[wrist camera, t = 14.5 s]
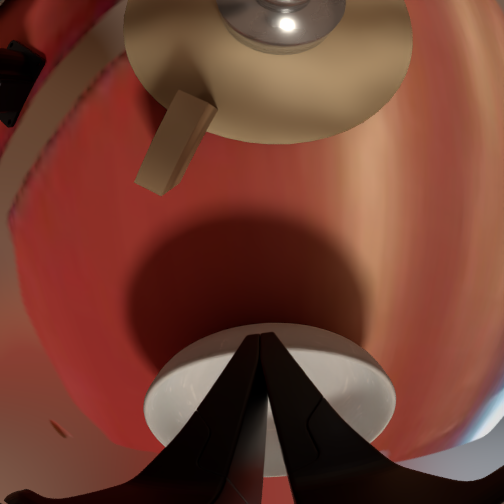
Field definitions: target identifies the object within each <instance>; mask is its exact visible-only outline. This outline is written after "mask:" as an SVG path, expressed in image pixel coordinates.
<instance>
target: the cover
mask: <svg viewBox="0 0 504 504" xmlns="http://www.w3.org/2000/svg"><path fill="white" fill-rule="evenodd" d="M216 2H217V6H218V9H219V12H220V16H221V19H222V22H223V24H224V26H225V28H226V29H227V31H228V32H229V33H230V34H231V35H232V36H233V37H234V38H235V39H236V40H237V41H239V42H240V43H242V44H243V45H245V46H247V47H249V48H251V49H253V50H256V51H259V52H263V53H267V54H274V55H292V54H297V53H302V52H305V51H308V50H310V49H312V48H314V47H316V46H317V45H319V44H320V43H321V42H323V41H324V40H325V39H326V37H327V36H328V35H329V34H330V33H331V32H332V30H333V29H334V28H335V27H336V26H337V25H338V23H339V22H340V20H341V19H342V17H343V15H344V12H345V8H346V0H216Z"/></svg>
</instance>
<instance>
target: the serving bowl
mask: <svg viewBox="0 0 504 504" xmlns="http://www.w3.org/2000/svg"><path fill="white" fill-rule="evenodd" d="M265 332H274V333H275V334H276V335H277V337H278V338H279V339H280V341H281V342H282V343H283V345H284V346H285V347H286V349H287V350H288V351H289V353H290V354H291V355H292V356H293V358H294V359H295V360H296V362H297V363H298V364H299V366H300V367H301V368H302V369H303V371H304V372H305V373H306V375H307V376H308V377H309V378H310V380H311V381H312V382H313V384H314V385H315V386H316V387H317V389H318V390H319V391H320V392H321V394H322V395H323V397H324V398H325V399H326V400H327V401H328V402H329V404H330V405H331V406H332V407H333V408H334V410H335V411H336V412H337V413H338V414H339V415H340V416H341V418H342V419H343V420H344V421H346V422H347V423H348V424H349V425H350V426H351V427H352V428H353V429H354V430H355V431H356V432H357V433H358V434H360V435H361V436H362V437H363V438H364V439H365V440H366V441H368V442H369V443H371V442H372V441H373V440H374V439H375V438H376V437H377V436H378V435H379V434H380V433H381V432H382V431H383V430H384V428H385V427H386V426H387V424H388V422H389V421H390V419H391V417H392V415H393V413H394V409H395V405H396V394H395V389H394V386H393V384H392V382H391V380H390V378H389V377H388V375H387V374H386V373H385V371H384V370H383V368H382V367H381V366H380V365H379V363H378V362H377V361H376V360H375V359H374V358H373V357H372V356H371V355H370V354H369V353H368V352H367V351H365V350H364V349H363V348H362V347H360V346H359V345H357V344H356V343H354V342H353V341H351V340H349V339H347V338H345V337H343V336H341V335H339V334H336V333H333V332H331V331H328V330H325V329H321V328H317V327H313V326H307V325H301V324H292V323H260V324H251V325H244V326H239V327H234V328H230V329H226V330H223V331H220V332H217V333H214V334H211V335H209V336H206V337H204V338H202V339H200V340H198V341H196V342H194V343H192V344H190V345H189V346H187V347H186V348H184V349H183V350H181V351H180V352H178V353H177V354H176V355H175V356H174V357H173V358H172V359H170V360H169V361H168V362H167V363H166V364H165V366H164V367H163V368H162V369H161V370H160V372H159V373H158V375H157V376H156V378H155V379H154V381H153V382H152V384H151V386H150V387H149V389H148V391H147V393H146V396H145V400H144V415H145V419H146V422H147V424H148V426H149V428H150V430H151V431H152V433H153V434H154V435H155V437H156V438H157V439H158V440H159V441H160V442H161V443H162V444H163V445H164V446H165V447H166V446H167V445H168V444H169V443H170V442H171V441H172V440H173V439H174V437H175V436H176V435H177V434H178V433H179V432H180V430H181V429H182V428H183V427H184V425H185V424H186V423H187V421H188V420H189V419H190V417H191V416H192V414H193V413H194V412H195V411H197V408H198V406H199V405H200V403H201V402H202V400H203V399H204V398H205V396H206V395H207V393H208V392H209V390H210V389H211V387H212V386H213V384H214V383H215V382H216V380H217V379H218V377H219V376H220V374H221V373H222V371H223V370H224V368H225V367H226V365H227V364H228V362H229V361H230V359H231V358H232V356H233V355H234V353H235V352H236V350H237V349H238V347H239V346H240V344H241V343H242V341H243V340H244V338H245V337H246V336H247V335H250V334H260V335H261V333H265ZM276 476H277V477H278V476H287V473H286V469H285V465H284V461H283V457H282V453H281V449H280V445H279V441H278V437H277V432H276V428H275V424H274V420H273V416H272V412H271V407H270V403H269V399H268V414H267V430H266V446H265V461H264V475H263V477H276Z"/></svg>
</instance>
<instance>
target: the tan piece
mask: <svg viewBox="0 0 504 504" xmlns="http://www.w3.org/2000/svg"><path fill="white" fill-rule="evenodd" d="M123 33H124V43H125V48H126V52H127V56H128V59H129V62H130V64H131V66H132V68H133V70H134V72H135V74H136V76H137V77H138V79H139V80H140V82H141V83H142V85H143V86H144V88H145V89H146V90H147V91H148V92H149V93H150V94H151V95H152V96H153V98H154V99H155V100H156V101H157V102H159V103H160V104H161V105H162V106H164V107H165V108H166V109H167V112H166V114H165V116H164V118H163V120H162V122H161V124H160V126H159V128H158V130H157V132H156V134H155V136H154V138H153V140H152V143H151V145H150V147H149V149H148V151H147V154H146V156H145V158H144V160H143V163H142V165H141V167H140V170H139V172H138V174H137V177H136V179H135V182H134V183H136V184H138V185H140V186H142V187H144V188H146V189H148V190H150V191H152V192H154V193H156V194H158V195H160V196H162V195H164V194H165V193H166V192H168V191H169V190H171V189H172V188H173V187H175V186H176V185H177V184H179V183H180V181H181V179H182V177H183V175H184V173H185V171H186V169H187V167H188V165H189V163H190V161H191V159H192V157H193V155H194V153H195V151H196V149H197V147H198V146H199V144H200V142H201V140H202V138H203V136H204V134H205V132H206V131H207V132H210V133H213V134H216V135H219V136H222V137H225V138H230V139H235V140H240V141H244V142H252V143H262V144H293V143H302V142H310V141H315V140H319V139H323V138H327V137H331V136H334V135H336V134H339V133H342V132H344V131H347V130H349V129H351V128H353V127H355V126H357V125H359V124H361V123H363V122H364V121H366V120H367V119H369V118H370V117H371V116H373V115H374V114H376V113H377V112H378V111H379V110H380V109H381V108H382V107H383V106H384V105H385V104H386V103H387V102H389V101H390V99H391V98H392V97H393V95H394V94H395V93H396V91H397V90H398V89H399V87H400V85H401V83H402V81H403V79H404V77H405V75H406V73H407V70H408V67H409V63H410V60H411V53H412V27H411V22H410V17H409V14H408V10H407V7H406V5H405V2H404V0H346V8H345V12H344V15H343V17H342V19H341V20H340V22H339V23H338V25H337V26H336V27H335V28H334V29H333V30H332V32H331V33H330V34H329V35H328V36H327V37H326V39H325V40H324V41H323V42H321V43H320V44H319V45H317V46H316V47H314V48H312V49H310V50H308V51H305V52H302V53H297V54H292V55H274V54H267V53H263V52H259V51H256V50H253V49H251V48H249V47H247V46H245V45H243V44H242V43H240V42H239V41H237V40H236V39H235V38H234V37H233V36H232V35H231V34H230V33H229V32H228V31H227V29H226V28H225V26H224V24H223V22H222V19H221V16H220V12H219V9H218V6H217V2H216V0H128V3H127V7H126V11H125V15H124V27H123Z"/></svg>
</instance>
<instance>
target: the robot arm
mask: <svg viewBox="0 0 504 504" xmlns="http://www.w3.org/2000/svg"><path fill="white" fill-rule="evenodd" d="M39 63H40V65H39ZM44 65H45V60H44V59H43V58H41V57H40V56H39V55H37V54H36V53H34V52H33V51H31V50H30V49H28V48H27V47H25V46H24V45H22V44H21V43H19V42H18V41H15V40H13V41H11V42H10V44H9V45H8V47H7V49H4V48H0V120H1V121H2V122H3V123H4V124H5V125H6V126H7V127H8V128H9V127H13V126H14V125H15V123H16V120H17V118H18V116H19V113H20V111H21V109H22V107H23V105H24V103H25V101H26V99H27V97H28V95H29V93H30V91H31V89H32V87H33V85H34V83H35V81H36V79H37V78H38V76H39V74H40V72H41V71H42V69H43V67H44ZM268 399H269V403H270V407H271V412H272V416H273V420H274V424H275V428H276V432H277V437H278V441H279V445H280V449H281V453H282V457H283V461H284V465H285V469H286V473H287V477H288V481H289V485H290V489H291V493H292V497H293V500H294V504H504V465H503V466H502V467H500V468H499V469H497V470H496V471H494V472H493V473H491V474H490V475H488V476H486V477H485V478H482V479H479V480H475V481H457V480H452V479H448V478H443V477H439V476H435V475H431V474H427V473H423V472H419V471H416V470H412V469H409V468H405V467H402V466H400V465H398V464H396V463H394V462H392V461H391V460H389V459H388V458H387V457H385V456H384V455H383V454H381V453H380V452H379V451H378V450H377V449H376V448H375V447H373V446H372V445H371V444H370V443H369V442H368V441H366V440H365V439H364V438H363V437H362V436H361V435H360V434H358V433H357V432H356V431H355V430H354V429H353V428H352V427H351V426H350V425H349V424H348V423H347V422H346V421H344V420H343V419H342V418H341V416H340V415H339V414H338V413H337V412H336V411H335V410H334V408H333V407H332V406H331V405H330V404H329V402H328V401H327V400H326V399H325V398H324V397H323V395H322V394H321V392H320V391H319V390H318V389H317V387H316V386H315V385H314V384H313V382H312V381H311V380H310V378H309V377H308V376H307V375H306V373H305V372H304V371H303V369H302V368H301V367H300V366H299V364H298V363H297V362H296V360H295V359H294V358H293V356H292V355H291V354H290V353H289V351H288V350H287V349H286V347H285V346H284V345H283V343H282V342H281V341H280V339H279V338H278V337H277V335H276V334H275V333H274V332H265V333H261V335H260V334H250V335H247V336H246V337H245V338H244V340H243V341H242V343H241V344H240V346H239V347H238V349H237V350H236V352H235V353H234V355H233V356H232V358H231V359H230V361H229V362H228V364H227V365H226V367H225V368H224V370H223V371H222V373H221V374H220V376H219V377H218V379H217V380H216V382H215V383H214V384H213V386H212V387H211V389H210V390H209V392H208V393H207V395H206V396H205V398H204V399H203V400H202V402H201V403H200V405H199V406H198V408H197V411H195V412H194V413H193V414H192V416H191V417H190V419H189V420H188V421H187V423H186V424H185V425H184V427H183V428H182V429H181V430H180V432H179V433H178V434H177V435H176V436H175V437H174V439H173V440H172V441H171V442H170V443H169V444H168V445H167V446H166V447H165V448H164V449H163V450H162V451H161V452H160V453H159V454H158V455H157V457H156V458H155V459H154V460H153V461H152V462H151V463H150V464H149V465H148V466H147V467H146V468H145V469H144V470H143V471H141V472H140V473H139V474H138V475H137V476H135V477H134V478H133V479H131V480H129V481H128V482H126V483H123V484H121V485H117V486H114V487H110V488H107V489H103V490H100V491H96V492H92V493H87V494H83V495H78V496H74V497H69V498H63V499H52V498H46V497H43V496H41V495H39V494H37V493H35V492H33V491H31V490H29V489H24V490H21V491H16V492H13V493H11V494H9V495H8V496H7V497H6V498H5V499H4V501H5V502H6V503H8V504H261V499H262V487H263V475H264V461H265V446H266V430H267V414H268ZM0 504H1V503H0Z"/></svg>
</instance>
